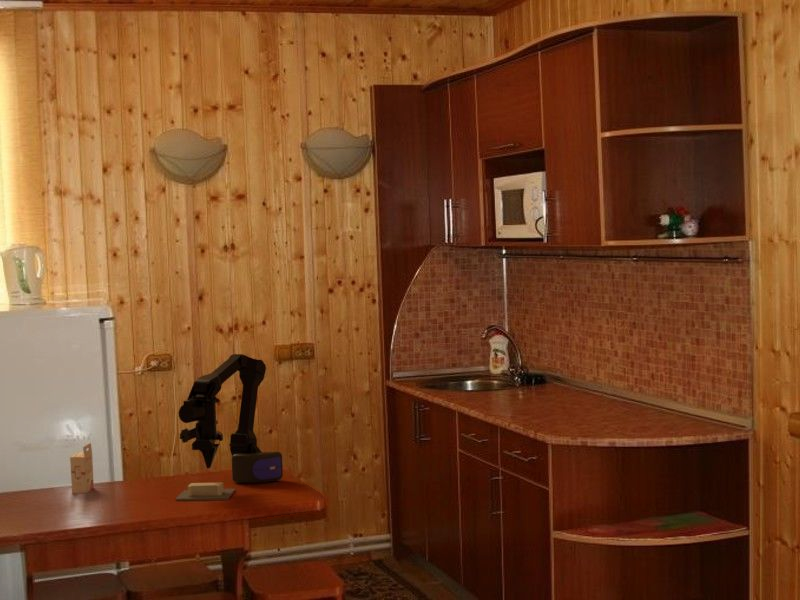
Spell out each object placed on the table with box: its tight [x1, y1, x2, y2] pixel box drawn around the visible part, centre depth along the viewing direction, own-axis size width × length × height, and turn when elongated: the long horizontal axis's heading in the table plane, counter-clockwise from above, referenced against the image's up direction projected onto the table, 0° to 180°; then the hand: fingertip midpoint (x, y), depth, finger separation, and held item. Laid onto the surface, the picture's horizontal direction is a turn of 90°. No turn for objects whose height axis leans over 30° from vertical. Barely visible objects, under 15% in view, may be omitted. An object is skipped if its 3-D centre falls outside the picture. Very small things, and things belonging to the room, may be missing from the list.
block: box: [187, 481, 224, 496], centre depth 365 cm, size 3×10×5 cm
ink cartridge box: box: [69, 442, 95, 494], centre depth 378 cm, size 9×5×15 cm, turn 179°
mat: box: [175, 488, 236, 502], centre depth 366 cm, size 13×16×1 cm
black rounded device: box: [231, 451, 284, 484], centre depth 383 cm, size 16×5×9 cm, turn 98°
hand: (208, 467), depth 372 cm, fingers closed
